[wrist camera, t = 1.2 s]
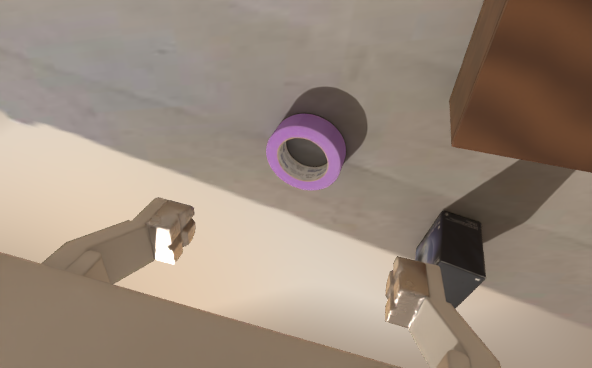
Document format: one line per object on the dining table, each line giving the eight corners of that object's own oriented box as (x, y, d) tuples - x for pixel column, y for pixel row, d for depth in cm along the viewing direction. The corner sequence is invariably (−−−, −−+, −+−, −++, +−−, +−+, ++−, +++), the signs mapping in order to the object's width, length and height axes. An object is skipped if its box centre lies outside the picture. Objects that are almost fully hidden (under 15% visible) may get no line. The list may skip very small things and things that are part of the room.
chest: (504, -59, 31) (524, -48, 24) (701, -48, 28) (795, -31, 20) (449, 100, 41) (451, 142, 34) (587, 122, 38) (622, 173, 31)
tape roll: (335, 185, 56) (330, 200, 53) (271, 163, 57) (262, 176, 54) (355, 127, 48) (350, 141, 45) (280, 102, 49) (270, 114, 46)
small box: (440, 208, 52) (439, 260, 44) (482, 222, 51) (490, 278, 43) (413, 248, 59) (409, 299, 51) (450, 261, 58) (452, 315, 50)
